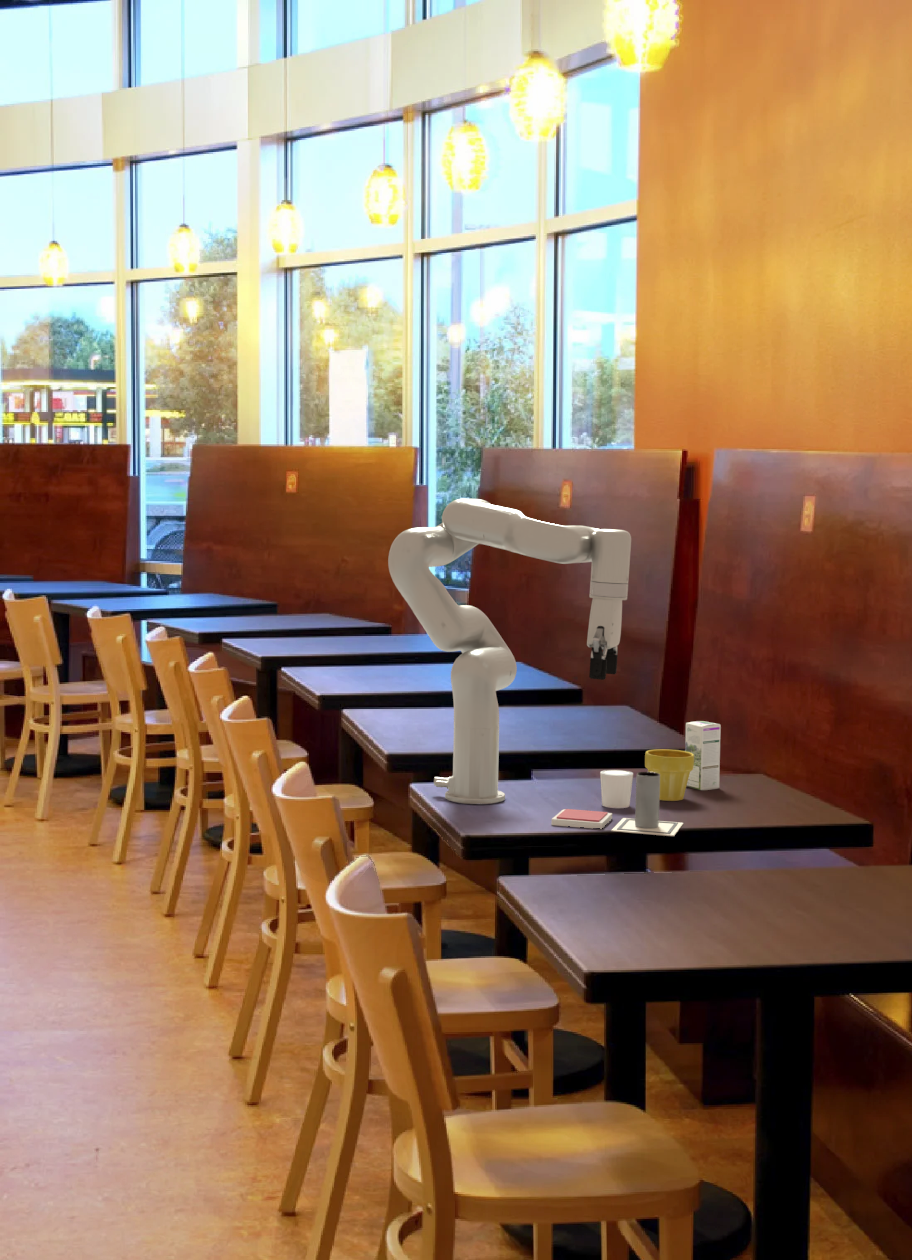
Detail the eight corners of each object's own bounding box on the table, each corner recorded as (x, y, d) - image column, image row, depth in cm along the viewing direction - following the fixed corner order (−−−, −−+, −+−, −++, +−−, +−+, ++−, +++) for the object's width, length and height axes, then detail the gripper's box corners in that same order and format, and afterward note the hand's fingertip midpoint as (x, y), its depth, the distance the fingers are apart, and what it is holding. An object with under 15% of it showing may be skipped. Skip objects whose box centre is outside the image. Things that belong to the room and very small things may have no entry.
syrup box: (720, 788, 339) (722, 723, 337) (699, 791, 336) (702, 725, 334) (703, 784, 343) (705, 720, 342) (682, 786, 340) (684, 721, 339)
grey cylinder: (642, 829, 294) (643, 776, 293) (630, 824, 298) (632, 772, 297) (662, 827, 296) (664, 775, 295) (651, 823, 300) (652, 771, 299)
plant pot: (702, 798, 327) (703, 753, 326) (675, 805, 319) (676, 758, 319) (661, 791, 334) (662, 747, 333) (634, 798, 326) (635, 752, 325)
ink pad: (551, 825, 297) (551, 817, 297) (563, 815, 307) (563, 807, 307) (602, 829, 294) (602, 821, 294) (612, 819, 304) (612, 811, 304)
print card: (611, 831, 293) (611, 829, 293) (623, 819, 304) (623, 817, 304) (673, 836, 289) (673, 834, 289) (683, 823, 301) (683, 822, 301)
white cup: (633, 809, 314) (634, 775, 314) (600, 808, 314) (601, 774, 314) (630, 802, 321) (631, 769, 321) (598, 801, 321) (598, 768, 321)
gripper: (600, 587, 314) (594, 669, 316) (580, 592, 298) (574, 679, 300) (636, 590, 312) (630, 673, 314) (617, 595, 296) (611, 683, 297)
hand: (602, 676), depth 307 cm, fingers open, 9 cm apart
